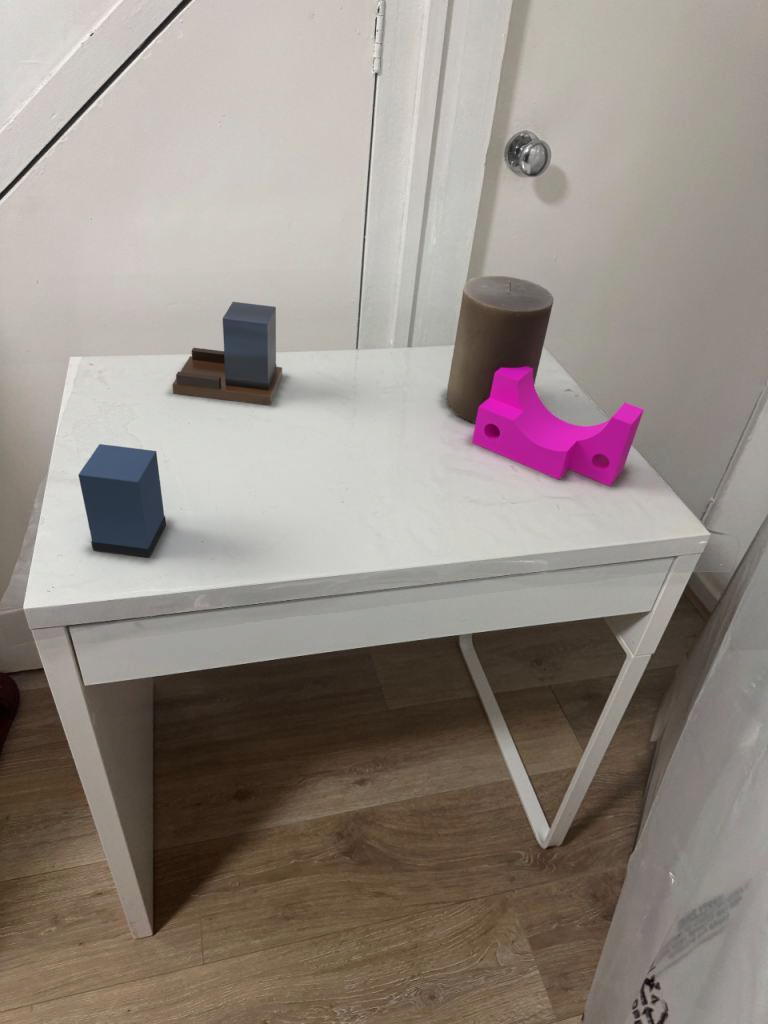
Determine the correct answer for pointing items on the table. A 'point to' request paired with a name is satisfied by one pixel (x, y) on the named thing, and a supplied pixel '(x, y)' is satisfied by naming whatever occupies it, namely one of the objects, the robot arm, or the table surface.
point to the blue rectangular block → (123, 500)
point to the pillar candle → (495, 337)
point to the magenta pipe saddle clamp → (551, 431)
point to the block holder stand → (236, 359)
